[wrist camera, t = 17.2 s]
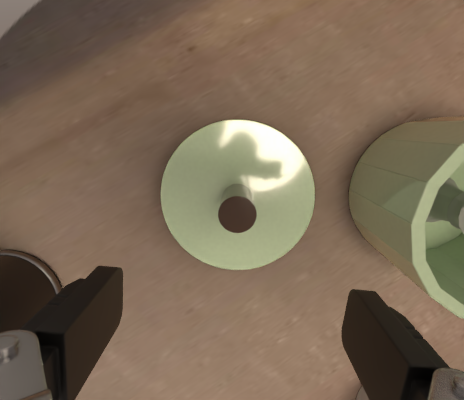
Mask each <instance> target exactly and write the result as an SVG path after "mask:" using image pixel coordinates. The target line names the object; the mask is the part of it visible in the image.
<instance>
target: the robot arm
mask: <svg viewBox="0 0 464 400" xmlns="http://www.w3.org/2000/svg"><path fill="white" fill-rule="evenodd" d="M122 309H123V271H122V269H121V268H118V267H107V266H98V267H97V268H96V269H95V270H94V271H93V272H92V273H91V274H90V275H89V276H88V277H87V278H86V279H78V280H76V281H74V282H72V283H70V284H68V285H66V286H65V287H64V288H63V289H61V286H60V284H59V282H58V280H57V278H56V276H55V275H54V274H53V272H52V271H51V270H50V269H49V268H48V267H47V266H46V265H45V264H44V263H43V262H41V261H40V260H38V259H37V258H35V257H33V256H31V255H28V254H26V253H22V252H18V251H11V250H5V251H0V400H75V398H76V397H77V395H78V393H79V392H80V390H81V388H82V387H83V385H84V383H85V381H86V380H87V378H88V376H89V375H90V373H91V371H92V370H93V368H94V366H95V365H96V363H97V361H98V360H99V358H100V356H101V354H102V353H103V351H104V349H105V348H106V346H107V344H108V343H109V341H110V339H111V338H112V336H113V334H114V332H115V331H116V329H117V327H118V325H119V323H120V320H121V316H122ZM342 343H343V346H344V349H345V351H346V353H347V355H348V357H349V359H350V361H351V363H352V365H353V367H354V370H355V372H356V374H357V376H358V378H359V380H360V382H361V384H362V386H363V388H364V390H365V392H366V394H367V396H368V399H369V400H464V372H463V371H460V370H457V369H452V368H450V367H449V366H448V365H447V364H446V363H445V362H444V360H443V359H442V358H441V357H440V356H439V355H438V354H437V353H436V351H435V350H434V349H433V348H432V347H431V346H430V345H429V343H428V342H427V341H426V340H425V339H423V337H422V336H421V334H420V333H419V332H418V331H417V330H415V328H414V326H413V325H412V324H411V323H410V322H409V321H408V320H407V318H406V317H404V316H403V315H402V314H400V313H399V312H397V311H396V310H394V309H393V308H391V307H388V306H387V305H386V303H385V302H384V301H383V300H382V299H381V298H380V296H379V295H378V294H377V293H376V292H375V291H366V290H355V289H353V290H351V291H350V293H349V296H348V301H347V306H346V311H345V316H344V321H343V326H342Z"/></svg>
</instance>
